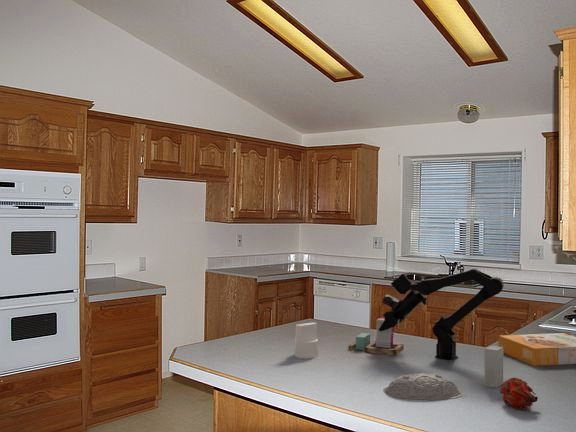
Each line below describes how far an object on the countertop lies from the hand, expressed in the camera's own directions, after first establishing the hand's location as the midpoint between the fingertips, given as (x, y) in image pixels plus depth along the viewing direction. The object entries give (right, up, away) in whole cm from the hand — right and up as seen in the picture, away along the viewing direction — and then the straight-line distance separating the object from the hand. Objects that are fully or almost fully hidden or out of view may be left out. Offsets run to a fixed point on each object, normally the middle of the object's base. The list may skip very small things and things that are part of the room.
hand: (381, 329), depth 225 cm
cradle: (-2, -8, +1) cm, 9 cm away
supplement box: (+1, -7, -1) cm, 7 cm away
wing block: (-7, -8, +3) cm, 11 cm away
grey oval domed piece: (+3, -9, -54) cm, 55 cm away
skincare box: (+28, -9, -45) cm, 54 cm away
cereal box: (+49, -6, -11) cm, 51 cm away
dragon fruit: (+28, -9, -66) cm, 72 cm away
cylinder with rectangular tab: (-31, -8, -10) cm, 33 cm away
